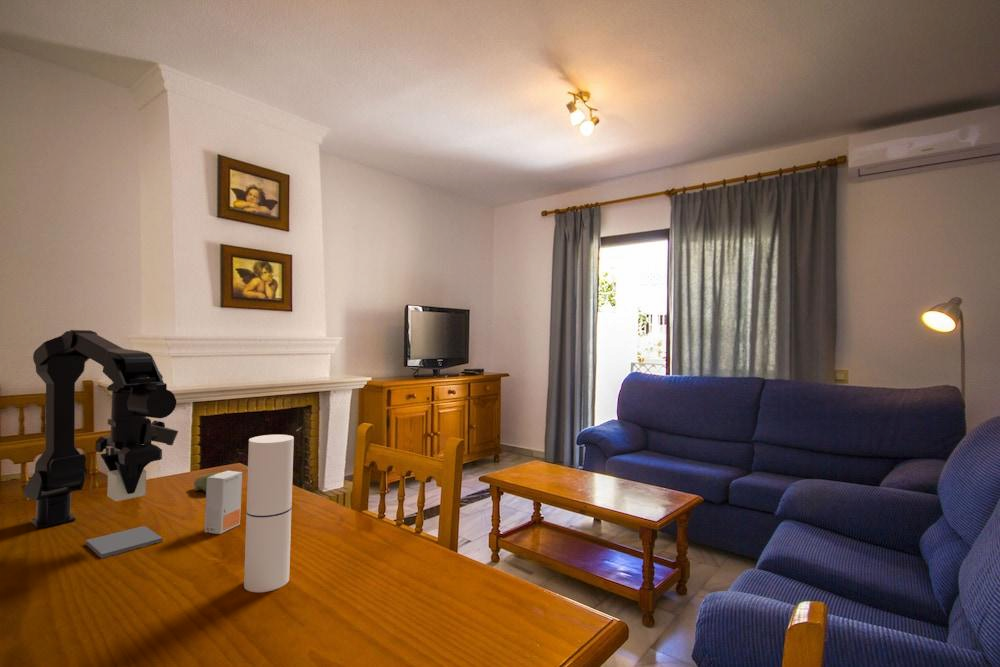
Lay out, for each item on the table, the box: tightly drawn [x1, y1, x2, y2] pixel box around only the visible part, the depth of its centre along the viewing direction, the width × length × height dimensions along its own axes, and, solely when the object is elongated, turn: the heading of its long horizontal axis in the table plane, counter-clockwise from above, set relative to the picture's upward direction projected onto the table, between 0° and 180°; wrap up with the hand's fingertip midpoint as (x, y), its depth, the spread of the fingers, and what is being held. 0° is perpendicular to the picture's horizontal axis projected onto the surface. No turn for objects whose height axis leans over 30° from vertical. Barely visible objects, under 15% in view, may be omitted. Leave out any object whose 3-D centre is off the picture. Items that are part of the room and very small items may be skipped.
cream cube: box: [106, 469, 147, 502], centre depth 100 cm, size 5×5×5 cm
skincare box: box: [204, 470, 243, 535], centre depth 109 cm, size 6×4×12 cm
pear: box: [193, 472, 219, 492], centre depth 134 cm, size 6×5×10 cm
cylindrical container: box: [243, 434, 295, 593], centre depth 86 cm, size 7×7×25 cm
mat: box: [85, 525, 163, 559], centre depth 100 cm, size 10×10×1 cm
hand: (126, 490), depth 100 cm, fingers closed on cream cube, 5 cm apart
